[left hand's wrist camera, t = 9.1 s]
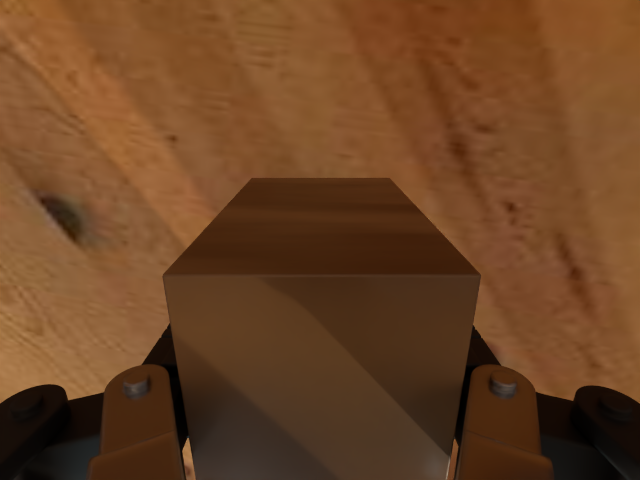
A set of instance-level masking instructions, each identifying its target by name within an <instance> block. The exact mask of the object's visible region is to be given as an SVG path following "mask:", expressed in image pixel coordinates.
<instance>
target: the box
mask: <svg viewBox="0 0 640 480" xmlns="http://www.w3.org/2000/svg"><path fill="white" fill-rule="evenodd" d="M480 279H481V275H480V273H479V272H478V271H477V270H476V269H475V268H474V267H473V266H472V265H471V264H470V263H469V262H468V261H467V260H466V258H465V257H464V256H463V255H462V254H461V253H460V252H459V251H458V250H457V249H456V248H455V247H454V246H453V245H452V244H451V243H450V242H449V241H448V239H447V238H446V237H445V236H444V235H443V234H442V233H441V232H440V231H439V230H438V229H437V228H436V227H435V226H434V225H433V224H432V223H431V221H430V220H429V219H428V218H427V217H426V216H425V215H424V214H423V213H422V212H421V211H420V210H419V209H418V208H417V207H416V206H415V205H414V203H413V202H412V201H411V200H410V199H409V198H408V197H407V196H406V195H405V194H404V193H403V192H402V191H401V190H400V189H399V188H398V187H397V185H396V184H395V183H394V182H393V181H392V180H391V179H390V178H252V179H251V180H250V181H249V182H248V183H247V184H246V185H245V186H244V187H243V188H242V189H241V190H240V192H239V193H238V194H237V195H236V196H235V197H234V198H233V199H232V200H231V201H230V202H229V203H228V205H227V206H226V207H225V208H224V209H223V210H222V211H221V212H220V213H219V214H218V215H217V217H216V218H215V219H214V220H213V221H212V222H211V223H210V224H209V225H208V226H207V227H206V228H205V230H204V231H203V232H202V233H201V234H200V235H199V236H198V237H197V238H196V239H195V240H194V241H193V243H192V244H191V245H190V246H189V247H188V248H187V249H186V250H185V251H184V252H183V253H182V255H181V256H180V257H179V258H178V259H177V260H176V261H175V262H174V263H173V264H172V265H171V266H170V268H169V269H168V270H167V271H166V272H165V273H164V274H163V282H164V288H165V294H166V300H167V307H168V313H169V319H170V325H171V331H172V337H173V343H174V349H175V355H176V361H177V367H178V374H179V380H180V386H181V392H182V398H183V404H184V410H185V416H186V422H187V428H188V434H189V440H190V447H191V453H192V459H193V465H194V471H195V477H196V480H447V477H448V471H449V465H450V459H451V453H452V447H453V441H454V435H455V429H456V423H457V417H458V411H459V405H460V399H461V393H462V387H463V381H464V375H465V369H466V363H467V357H468V351H469V345H470V339H471V333H472V327H473V321H474V315H475V309H476V303H477V297H478V291H479V285H480Z"/></svg>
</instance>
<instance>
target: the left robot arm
mask: <svg viewBox="0 0 640 480" xmlns="http://www.w3.org/2000/svg"><path fill="white" fill-rule="evenodd" d="M187 438H189V434H188V428H187V422H186V416H185V410H184V404H183V398H182V392H181V386H180V380H179V374H178V367H177V361H176V355H175V349H174V343H173V337H172V331H171V325H170V324H169V325H168V327H167V329H166V330H165V331H164V333H163V334H162V336H161V338H159V340H158V341H157V343H156V344H155V346H154V347H153V349H152V350H151V352H150V353H149V355H148V356H147V358H146V359H145V361H144V362H143V363H142V365H140V366H136V367H133V368H130V369H128V370H126V371H124V372H122V373H120V374H119V375H117V376H116V377H115V378H113V379H112V380H111V381H110V382H109V384H108V385H107V387H106V389H105V392H103V393H99V394H95V395H91V396H86V397H82V398H77V399H73V400H68V398H67V395H66V392H65V390H64V389H63V388H62V387H61V386H58V385H51V384H48V385H40V386H35V387H32V388H29V389H26V390H23V391H21V392H19V393H17V394H15V395H13V396H11V397H9V398H8V399H6V400H5V401H3V402H2V403H1V404H0V480H187V479H186V472H185V465H184V458H183V453H182V450H183V447H184V445H185V442H186V440H187ZM454 439H456V442H457V444H458V446H459V447H458V453H457V458H456V465H455V472H454V479H453V480H640V404H639V403H638V402H637V401H635V400H633V399H632V398H630V397H628V396H626V395H624V394H622V393H620V392H618V391H615V390H612V389H609V388H605V387H601V386H584V387H581V388H579V389H578V390H577V392H576V394H575V397H574V400H573V401H571V400H566V399H562V398H558V397H553V396H549V395H544V394H541V393H538V392H535V389H534V387H533V385H532V384H531V382H530V381H529V380H528V379H527V378H525V377H524V376H523V375H521V374H520V373H518V372H516V371H514V370H512V369H510V368H507V367H504V366H501V365H500V363H499V362H498V360H497V359H496V357H495V356H494V354H493V353H492V352H491V350H490V349H489V347H488V346H487V344H486V343H485V341H484V340H483V338H481V336H480V334H479V333H478V331H477V330H475V327H474V325H473V327H472V333H471V339H470V345H469V351H468V357H467V363H466V369H465V375H464V381H463V387H462V393H461V399H460V405H459V411H458V417H457V423H456V429H455V435H454Z"/></svg>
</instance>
